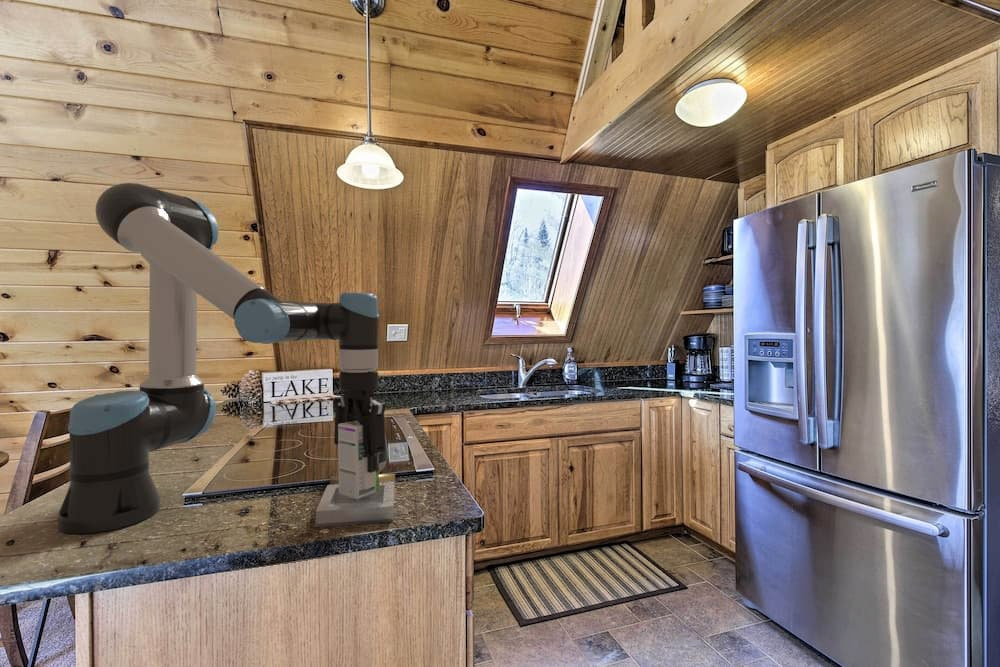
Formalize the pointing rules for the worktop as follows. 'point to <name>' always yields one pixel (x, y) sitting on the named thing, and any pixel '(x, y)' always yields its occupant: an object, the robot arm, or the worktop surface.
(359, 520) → the collar
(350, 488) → the syrup box
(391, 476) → the brass rod
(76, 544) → the worktop surface
